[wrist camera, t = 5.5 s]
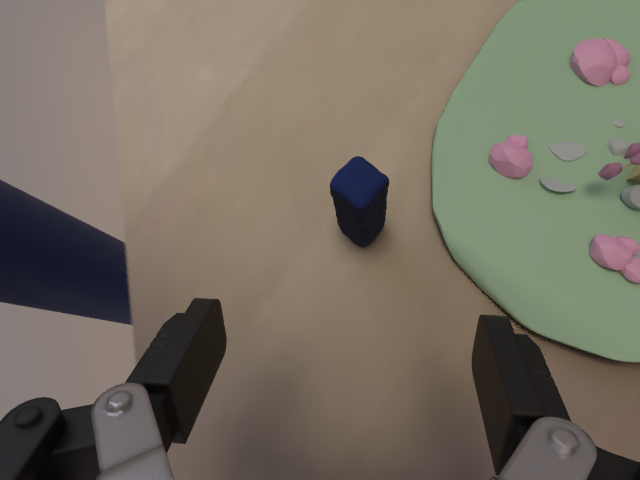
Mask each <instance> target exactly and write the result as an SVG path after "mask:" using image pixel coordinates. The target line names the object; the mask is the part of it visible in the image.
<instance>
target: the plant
mask: <svg viewBox="0 0 640 480" xmlns="http://www.w3.org/2000/svg"><path fill="white" fill-rule="evenodd" d="M431 176H432V205H433V212H434V215H435V218H436V220H437V223H438V225H439V228H440V230H441V233H442V235H443V238H444V240H445V243H446V245H447V247H448V249H449V251H450V253H451V255H452V256H453V258H454V259H455V261H456V262H457V263H458V265H459V266H460V267H461V268H462V269H463V270H464V271H465V273H466V274H467V275H468V276H469V277H470V278H471V279H472V280H473V281H474V282H475V283H476V284H477V285H478V287H479V288H480V289H481V290H483V291H484V292H485V293H486V294H487V295H488V296H489V297H490V298H492V299H493V300H494V301H495V302H496V303H497V304H498V305H499V306H501V307H502V308H503V309H504V310H505V311H506V312H507V313H508V314H510V315H511V316H512V317H513V318H514V319H515V320H517V321H518V322H519V323H520V324H522V325H523V326H525V327H526V328H528V329H530V330H531V331H533V332H535V333H537V334H539V335H541V336H544V337H546V338H549V339H552V340H554V341H557V342H560V343H563V344H566V345H568V346H571V347H574V348H577V349H580V350H583V351H586V352H589V353H592V354H595V355H598V356H601V357H604V358H608V359H611V360H615V361H621V362H633V363H640V0H520V1H519V2H517V3H516V4H515V5H514V6H513V7H512V8H511V9H510V10H509V11H508V12H507V13H506V14H505V15H504V16H503V17H502V18H501V20H500V21H499V22H498V23H497V25H496V26H495V28H494V29H493V30H492V32H491V34H490V35H489V37H488V38H487V40H486V41H485V43H484V45H483V46H482V48H481V49H480V51H479V52H478V54H477V56H476V57H475V59H474V60H473V62H472V63H471V65H470V67H469V68H468V70H467V71H466V73H465V75H464V76H463V78H462V79H461V81H460V83H459V84H458V86H457V87H456V89H455V90H454V92H453V94H452V95H451V97H450V99H449V101H448V103H447V105H446V107H445V109H444V111H443V113H442V115H441V118H440V120H439V122H438V124H437V126H436V129H435V132H434V138H433V147H432V159H431Z"/></svg>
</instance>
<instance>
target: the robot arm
mask: <svg viewBox="0 0 640 480" xmlns="http://www.w3.org/2000/svg"><path fill="white" fill-rule="evenodd" d="M225 350H226V332H225V326H224V320H223V314H222V308H221V303H220V301H219V300H218V299H202V298H195V299H193V301H192V302H191V304H190V305H189V307H188V309H187V310H186V312H185V313H177V314H175V315H174V316H173V317H172V318H170V319H169V320H168V321H166V322H165V323H164V324H163V326H162V327H161V329H160V330H159V332H158V333H157V335H156V338H154V340H153V341H152V343H151V344H150V348H148V349H147V350H146V352H145V353H144V355H143V356H142V358H141V359H140V361H139V362H138V364H137V365H136V367H135V368H134V370H133V371H132V373H131V374H130V376H129V378H128V379H127V381H126V382H125V383H124V384H120V385H116V386H114V387H112V388H110V389H108V390H107V391H105V392H104V393H102V394H101V395H100V396H99V397H98V398H97V399H96V401H95V402H94V404H91V405H86V406H81V407H76V408H70V409H66V410H61V409H60V407H59V404H58V402H57V401H56V400H54V399H51V398H46V397H42V398H35V399H32V400H29V401H26V402H24V403H22V404H20V405H18V406H17V407H15V408H14V409H12V410H11V411H10V412H9V413H8V414H6V416H5V417H4V418H3V419H2V420H1V421H0V480H174V477H173V474H172V471H171V468H170V464H169V461H168V458H167V451H168V449H169V447H170V445H171V443H182V444H186V441H187V439H188V437H189V434H190V432H191V430H192V428H193V425H194V423H195V421H196V418H197V416H198V414H199V412H200V409H201V407H202V405H203V402H204V400H205V398H206V396H207V393H208V391H209V389H210V386H211V384H212V382H213V380H214V377H215V375H216V373H217V370H218V368H219V366H220V364H221V361H222V359H223V357H224V354H225ZM472 372H473V378H474V382H475V386H476V391H477V395H478V399H479V404H480V408H481V413H482V417H483V421H484V426H485V430H486V435H487V439H488V443H489V448H490V452H491V457H492V461H493V465H494V470H495V474H496V475H497V476H498V477H497V478H496V477H494V476H493V477H492V478H491V479H490V480H640V463H639V462H636V461H633V460H630V459H627V458H625V457H622V456H619V455H616V454H613V453H610V452H608V451H605V450H603V449H601V448H599V447H597V446H595V444H594V442H593V441H592V439H591V438H590V437H589V435H588V434H587V433H586V432H585V431H584V430H583V429H581V428H580V427H579V426H577V425H575V424H574V423H572V422H571V420H570V417H569V415H568V413H567V410H566V408H565V406H564V403H563V401H562V399H561V396H560V394H559V392H558V389H557V387H556V385H555V382H554V380H553V378H552V377H551V373H550V371H549V368H548V366H547V365H546V362H545V359H544V357H543V355H542V352H541V350H540V348H539V347H538V346H537V345H536V344H535V343H534V342H533V341H532V340H531V339H530V338H529V337H528V336H527V335H524V334H515V333H514V331H513V328H512V325H511V323H510V320H509V318H508V317H507V316H497V315H480V317H479V320H478V325H477V330H476V336H475V341H474V347H473V352H472Z"/></svg>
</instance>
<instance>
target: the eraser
mask: <svg viewBox="0 0 640 480" xmlns="http://www.w3.org/2000/svg"><path fill="white" fill-rule="evenodd" d="M388 186H389V179H388V177H387V176H386V175H384V174H382V173H381V172H380V171H378V169H377V168H375V167H374V166H373V165H372V164H370V163H369V162H368V161H366V160H365V159H364V158H362V157H358V156H357V157H354V158H352V159H351V160H350V161H349V162H348V163H347V164H346V165H345V166H344V167H343V168H341V169H340V170H339V171H338V172H337V173H336V175H335V176H334V177H333V179H332V181H331V183H330V189H331V190H330V193H331V196H332V197H333V201H334V206H335V210H336V216H337V221H338V225H339V227H340V229H341V231H342V232H343V233H344V234H345V235H346V236H348V237H349V238H350V239H351V240H352V241H353V242H354V243H355V244H356V245H358V246H360V247H365V246H368V245H369V244H370V243H371V242H372V241H373V240H374V239H375V238H376V236H377V235H378V233H379V232H380V231H381V229H382V228H383V226H384V223H385V215H386V208H387V206H386V203H387V201H386V198H387V193H388Z"/></svg>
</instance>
